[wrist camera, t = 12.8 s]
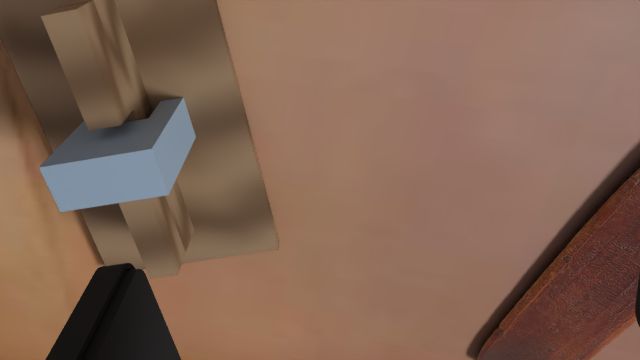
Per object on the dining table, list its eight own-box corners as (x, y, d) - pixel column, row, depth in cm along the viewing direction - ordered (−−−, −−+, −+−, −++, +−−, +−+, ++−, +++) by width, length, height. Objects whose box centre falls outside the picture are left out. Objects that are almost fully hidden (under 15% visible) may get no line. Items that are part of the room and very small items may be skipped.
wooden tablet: (680, 111, 39) (693, 120, 38) (783, 176, 41) (799, 186, 39) (458, 351, 50) (461, 365, 49) (546, 393, 52) (552, 407, 51)
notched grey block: (106, 151, 39) (60, 212, 32) (90, 113, 38) (38, 167, 31) (196, 136, 39) (168, 195, 32) (183, 97, 37) (151, 148, 30)
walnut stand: (-25, -40, 34) (-94, -22, 29) (194, -84, 33) (168, -74, 27) (113, 266, 46) (83, 322, 40) (279, 242, 44) (273, 296, 39)
